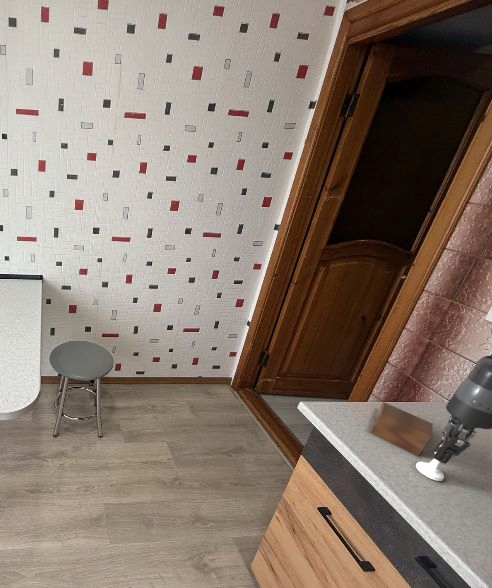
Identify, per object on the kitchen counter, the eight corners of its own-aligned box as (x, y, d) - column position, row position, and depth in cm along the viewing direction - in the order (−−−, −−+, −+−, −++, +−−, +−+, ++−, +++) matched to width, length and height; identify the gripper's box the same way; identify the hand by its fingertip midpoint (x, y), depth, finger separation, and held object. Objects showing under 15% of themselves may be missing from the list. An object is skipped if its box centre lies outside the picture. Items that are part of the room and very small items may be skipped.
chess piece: (414, 470, 82) (434, 440, 78) (417, 459, 85) (437, 430, 81) (442, 484, 78) (465, 454, 74) (443, 473, 81) (466, 444, 77)
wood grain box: (421, 430, 95) (434, 411, 92) (417, 456, 86) (431, 436, 83) (377, 410, 102) (388, 392, 99) (370, 432, 93) (381, 413, 90)
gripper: (509, 426, 66) (462, 485, 73) (502, 397, 74) (461, 452, 81) (455, 405, 71) (416, 462, 77) (455, 380, 79) (420, 433, 86)
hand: (439, 457), depth 79 cm, fingers closed on chess piece
